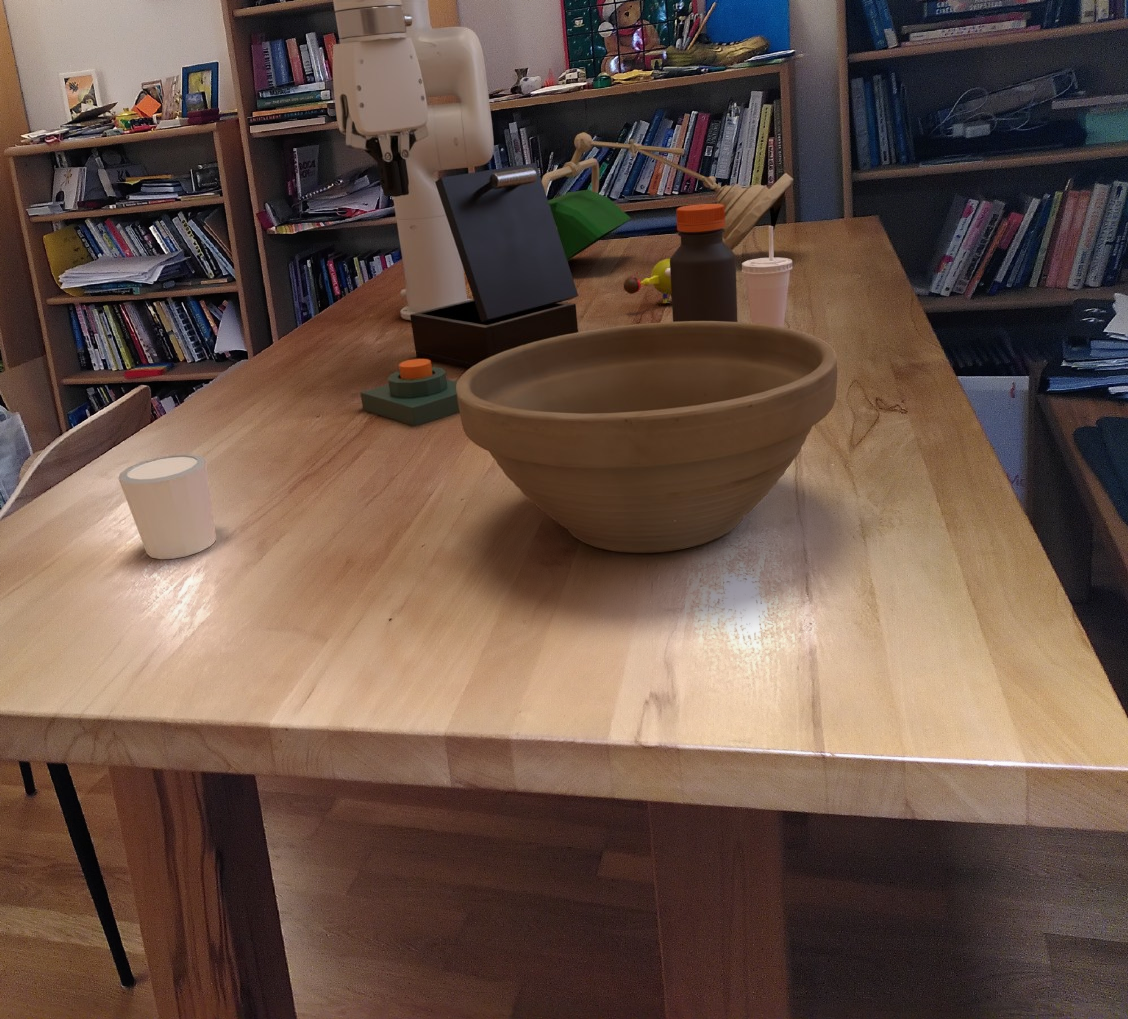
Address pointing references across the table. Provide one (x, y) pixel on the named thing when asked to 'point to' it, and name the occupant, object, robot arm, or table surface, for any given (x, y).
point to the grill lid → (506, 240)
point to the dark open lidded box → (485, 331)
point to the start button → (415, 369)
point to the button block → (413, 398)
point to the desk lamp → (597, 216)
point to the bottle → (703, 267)
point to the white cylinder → (171, 505)
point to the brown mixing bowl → (650, 425)
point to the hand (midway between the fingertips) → (396, 194)
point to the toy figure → (653, 280)
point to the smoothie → (767, 287)
